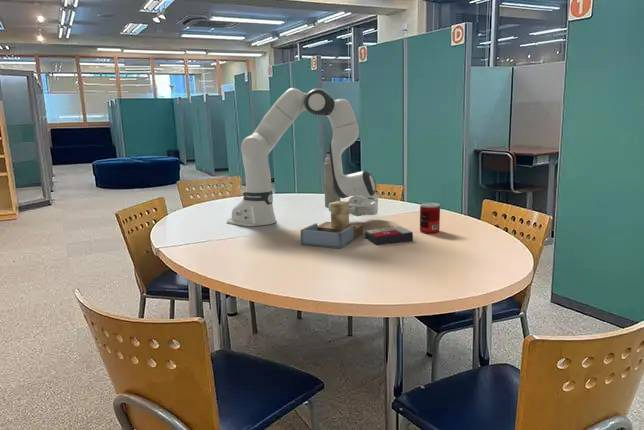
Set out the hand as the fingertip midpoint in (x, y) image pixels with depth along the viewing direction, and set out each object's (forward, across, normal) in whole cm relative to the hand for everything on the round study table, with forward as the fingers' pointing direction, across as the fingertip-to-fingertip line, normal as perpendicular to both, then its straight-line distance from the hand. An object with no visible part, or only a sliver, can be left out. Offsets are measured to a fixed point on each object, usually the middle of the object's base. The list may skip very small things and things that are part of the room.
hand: (345, 211), depth 200 cm
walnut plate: (+7, 0, +8) cm, 11 cm away
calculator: (+6, +20, +9) cm, 23 cm away
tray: (+18, 0, +8) cm, 20 cm away
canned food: (-12, +31, +9) cm, 34 cm away
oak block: (+6, 0, +4) cm, 7 cm away
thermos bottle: (-48, -28, +9) cm, 56 cm away
